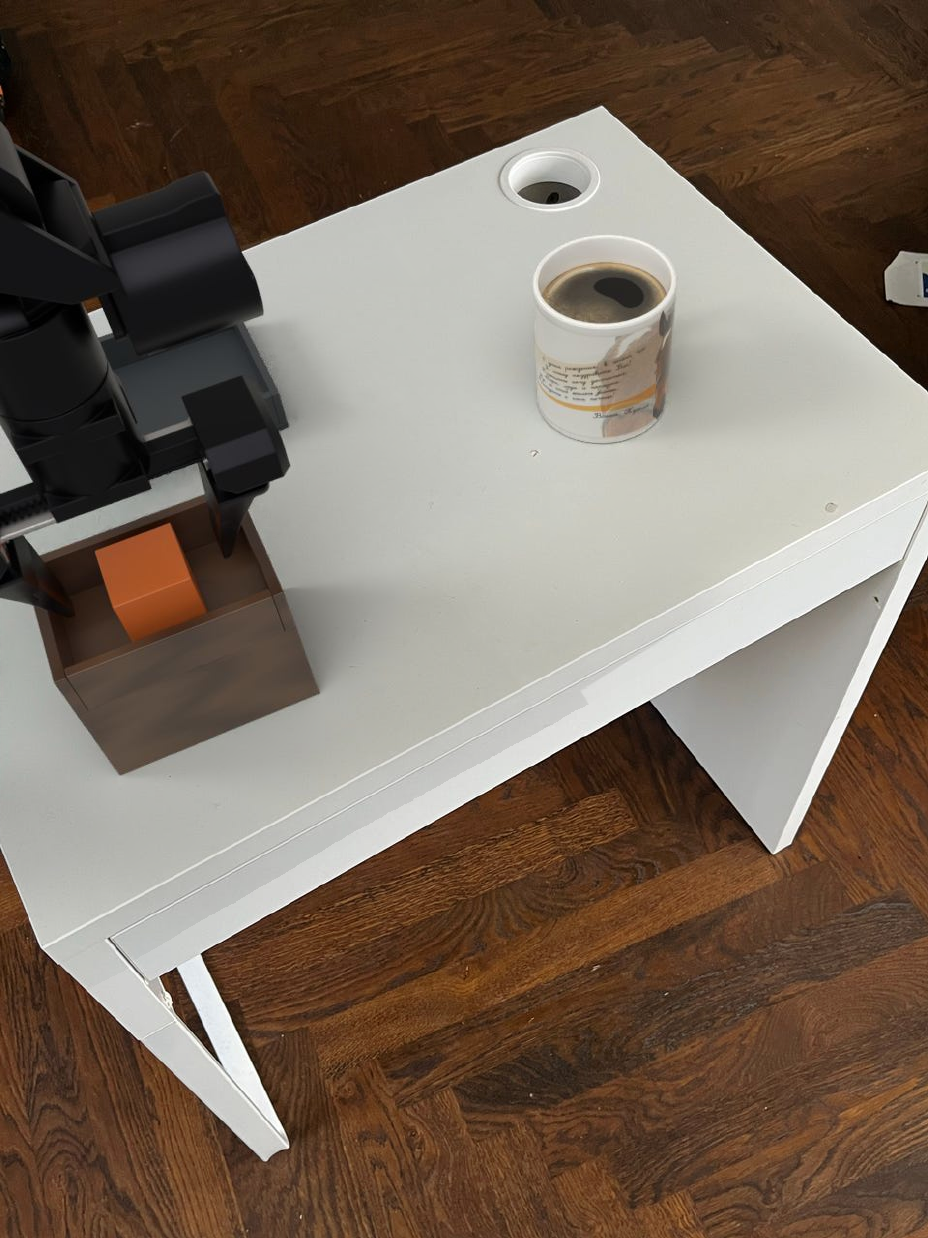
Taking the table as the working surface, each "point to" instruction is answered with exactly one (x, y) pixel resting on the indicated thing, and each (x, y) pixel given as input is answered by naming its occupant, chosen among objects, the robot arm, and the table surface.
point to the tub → (188, 375)
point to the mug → (603, 336)
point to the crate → (175, 645)
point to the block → (150, 582)
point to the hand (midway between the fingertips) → (149, 581)
